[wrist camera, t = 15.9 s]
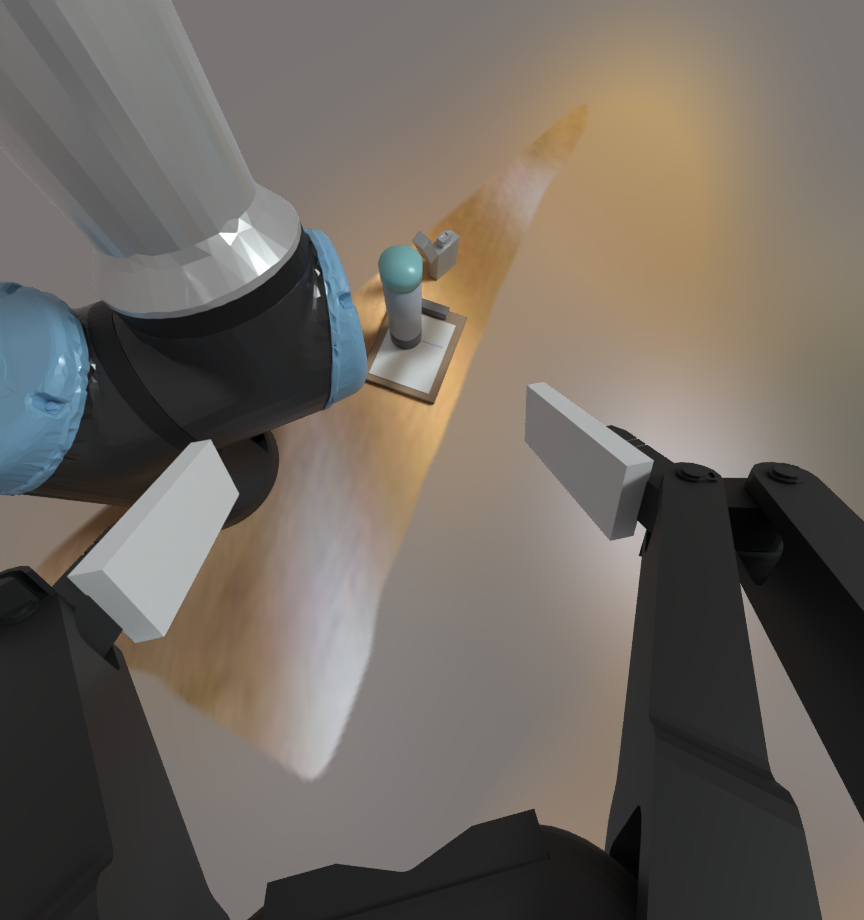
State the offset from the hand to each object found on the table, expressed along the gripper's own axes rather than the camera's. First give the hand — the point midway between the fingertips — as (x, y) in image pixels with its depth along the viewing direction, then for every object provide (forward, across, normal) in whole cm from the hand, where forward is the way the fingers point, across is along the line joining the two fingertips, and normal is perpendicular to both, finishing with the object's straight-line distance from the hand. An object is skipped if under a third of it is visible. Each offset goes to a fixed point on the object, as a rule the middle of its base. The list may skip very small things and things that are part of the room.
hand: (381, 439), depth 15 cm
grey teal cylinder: (+33, +4, -3) cm, 33 cm away
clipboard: (+32, +5, -4) cm, 33 cm away
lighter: (+40, +10, +3) cm, 42 cm away
